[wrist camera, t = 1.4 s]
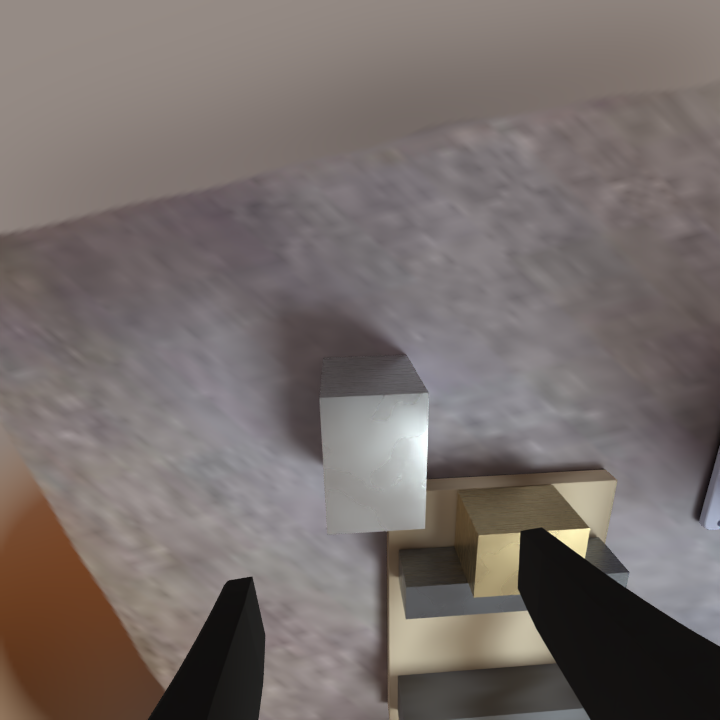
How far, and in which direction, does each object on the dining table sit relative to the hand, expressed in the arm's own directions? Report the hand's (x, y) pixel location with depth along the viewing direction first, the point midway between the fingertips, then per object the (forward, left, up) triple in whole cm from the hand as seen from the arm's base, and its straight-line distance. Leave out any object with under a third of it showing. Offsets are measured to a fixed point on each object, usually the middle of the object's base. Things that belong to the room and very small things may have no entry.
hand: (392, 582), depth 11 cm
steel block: (0, 0, -10) cm, 10 cm away
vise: (-7, +12, -10) cm, 17 cm away
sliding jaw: (-7, +7, -9) cm, 13 cm away
